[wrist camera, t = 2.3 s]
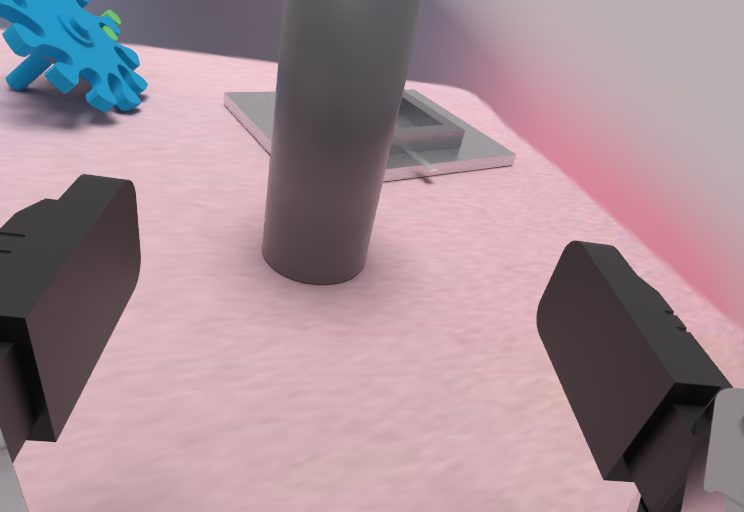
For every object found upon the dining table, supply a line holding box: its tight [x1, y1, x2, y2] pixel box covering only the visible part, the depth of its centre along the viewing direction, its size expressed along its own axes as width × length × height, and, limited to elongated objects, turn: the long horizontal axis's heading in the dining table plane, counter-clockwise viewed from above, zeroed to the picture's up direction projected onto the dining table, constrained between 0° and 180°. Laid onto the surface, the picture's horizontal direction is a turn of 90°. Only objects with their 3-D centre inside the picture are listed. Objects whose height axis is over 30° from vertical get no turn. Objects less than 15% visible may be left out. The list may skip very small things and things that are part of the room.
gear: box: [0, 0, 148, 113], centre depth 31 cm, size 11×6×10 cm
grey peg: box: [262, 0, 424, 285], centre depth 20 cm, size 5×5×13 cm
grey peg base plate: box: [224, 90, 516, 182], centre depth 35 cm, size 16×13×2 cm
